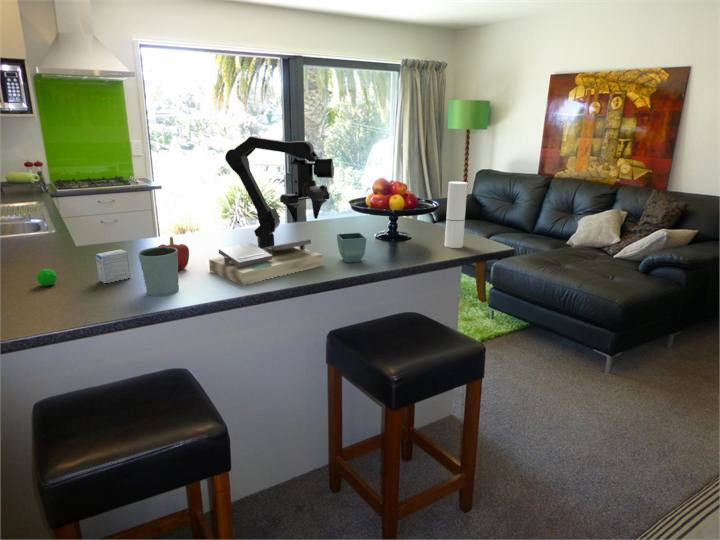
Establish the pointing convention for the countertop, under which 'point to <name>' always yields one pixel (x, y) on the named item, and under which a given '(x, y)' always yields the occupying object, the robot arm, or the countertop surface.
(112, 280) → the medicine box
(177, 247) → the vegetable
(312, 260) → the switch unit
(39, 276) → the polyhedron
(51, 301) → the countertop surface
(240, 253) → the rocker left
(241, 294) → the countertop surface
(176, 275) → the grey-green cup
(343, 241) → the flower pot
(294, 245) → the rocker right
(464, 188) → the white tall block
